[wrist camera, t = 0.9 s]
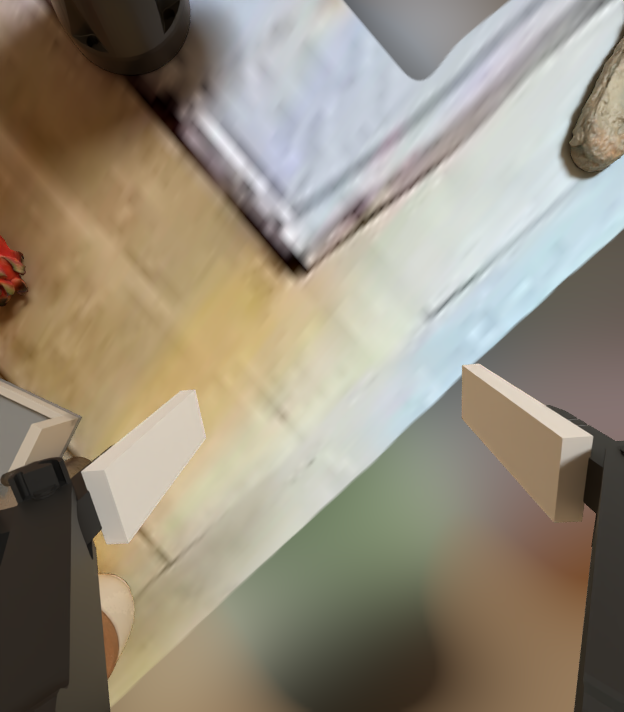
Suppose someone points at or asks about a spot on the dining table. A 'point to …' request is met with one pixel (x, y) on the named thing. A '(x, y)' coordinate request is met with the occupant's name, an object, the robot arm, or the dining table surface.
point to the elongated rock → (602, 119)
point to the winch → (3, 495)
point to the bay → (31, 428)
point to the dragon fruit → (10, 273)
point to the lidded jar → (115, 616)
